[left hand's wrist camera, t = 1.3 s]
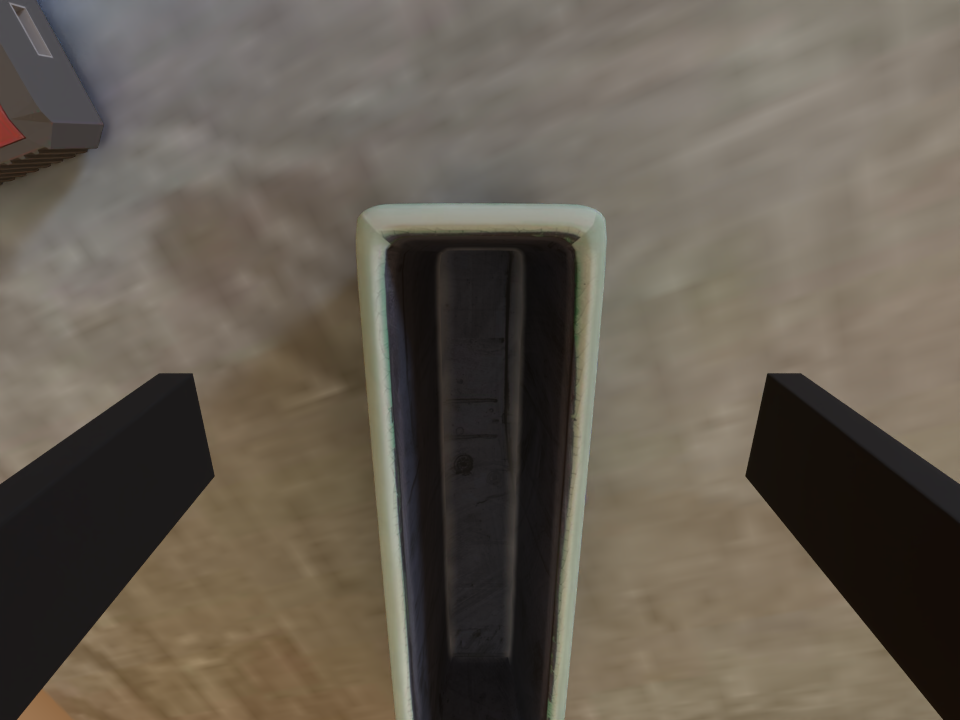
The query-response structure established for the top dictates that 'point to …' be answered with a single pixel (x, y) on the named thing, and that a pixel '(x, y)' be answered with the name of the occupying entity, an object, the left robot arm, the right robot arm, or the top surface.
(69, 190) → the top surface
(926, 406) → the top surface
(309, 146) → the top surface
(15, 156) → the walkie-talkie
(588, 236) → the planter
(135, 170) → the top surface
